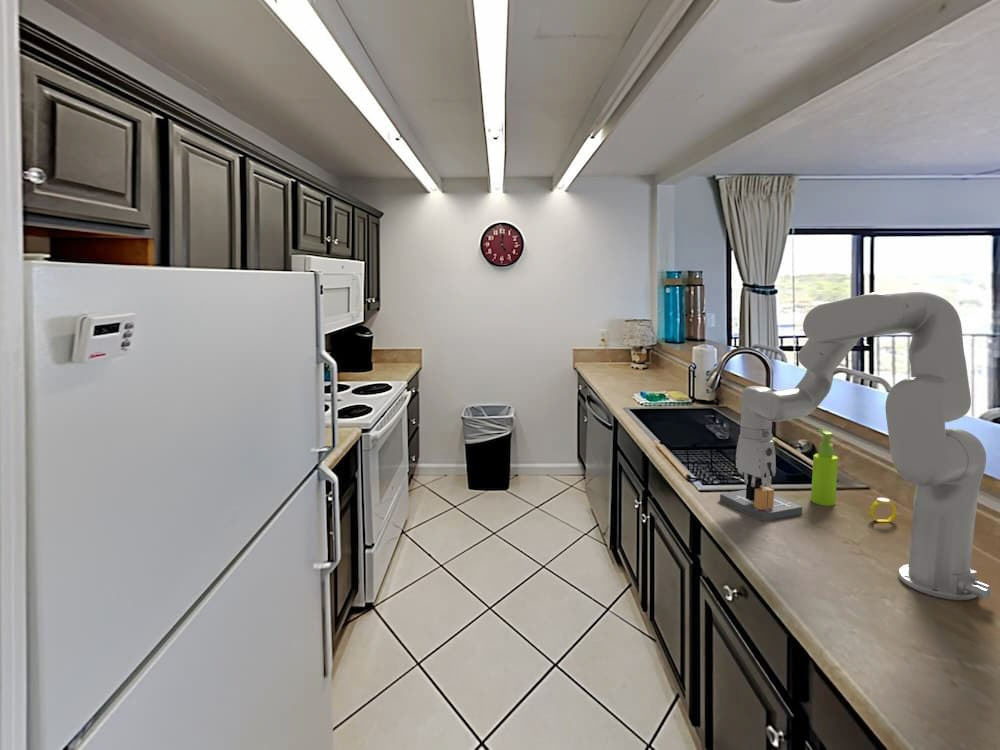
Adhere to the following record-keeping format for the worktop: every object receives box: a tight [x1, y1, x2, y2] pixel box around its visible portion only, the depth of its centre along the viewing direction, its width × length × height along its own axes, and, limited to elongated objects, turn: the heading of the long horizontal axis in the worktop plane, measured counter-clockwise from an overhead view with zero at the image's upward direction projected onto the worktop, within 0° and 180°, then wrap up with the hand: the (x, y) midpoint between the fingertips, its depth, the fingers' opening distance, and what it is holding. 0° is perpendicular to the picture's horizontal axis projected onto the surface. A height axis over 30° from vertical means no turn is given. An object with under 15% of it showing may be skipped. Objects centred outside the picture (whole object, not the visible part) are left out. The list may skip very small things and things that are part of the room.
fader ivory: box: [760, 477, 772, 489], centre depth 156 cm, size 2×4×5 cm, turn 109°
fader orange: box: [754, 487, 775, 510], centre depth 146 cm, size 2×4×5 cm, turn 108°
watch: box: [868, 497, 898, 524], centre depth 141 cm, size 6×3×6 cm, turn 85°
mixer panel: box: [719, 489, 803, 522], centre depth 153 cm, size 16×13×2 cm
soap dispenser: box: [810, 429, 839, 507], centre depth 154 cm, size 6×7×20 cm
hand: (752, 498), depth 150 cm, fingers closed
